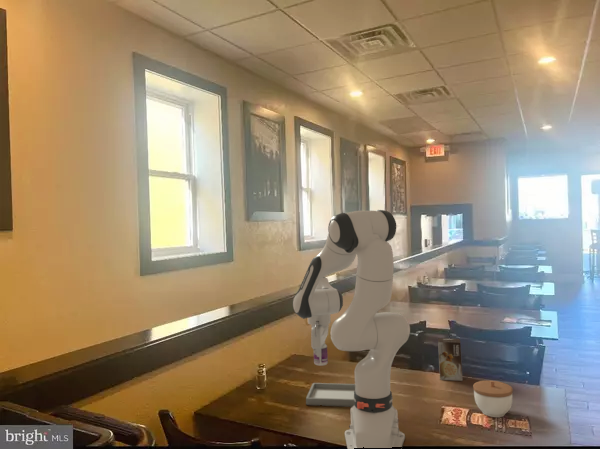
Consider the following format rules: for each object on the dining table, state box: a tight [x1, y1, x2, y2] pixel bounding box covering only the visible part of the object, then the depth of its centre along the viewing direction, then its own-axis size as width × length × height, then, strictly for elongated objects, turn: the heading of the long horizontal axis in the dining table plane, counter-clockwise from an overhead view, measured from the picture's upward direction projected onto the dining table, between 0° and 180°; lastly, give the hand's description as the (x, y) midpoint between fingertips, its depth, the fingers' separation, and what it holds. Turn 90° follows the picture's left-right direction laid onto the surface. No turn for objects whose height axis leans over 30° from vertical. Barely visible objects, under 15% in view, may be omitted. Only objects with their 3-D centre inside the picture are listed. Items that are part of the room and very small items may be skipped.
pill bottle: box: [313, 340, 329, 366], centre depth 180 cm, size 5×5×10 cm
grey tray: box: [305, 382, 355, 408], centre depth 179 cm, size 16×21×2 cm
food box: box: [437, 337, 464, 382], centre depth 195 cm, size 9×6×16 cm
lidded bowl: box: [472, 380, 514, 418], centre depth 160 cm, size 13×13×11 cm
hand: (320, 353), depth 180 cm, fingers closed on pill bottle, 5 cm apart
